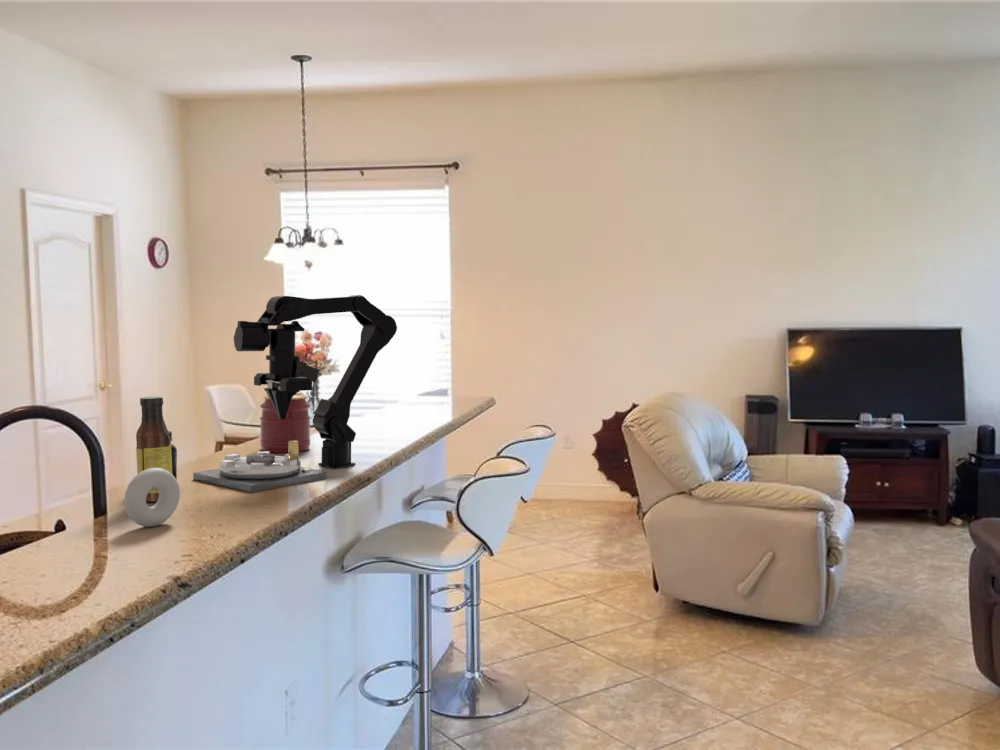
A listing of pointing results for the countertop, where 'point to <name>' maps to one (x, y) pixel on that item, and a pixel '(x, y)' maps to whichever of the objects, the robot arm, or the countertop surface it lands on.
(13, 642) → the countertop surface
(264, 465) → the lugged silver disc
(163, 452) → the sauce bottle
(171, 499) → the donut
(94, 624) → the countertop surface
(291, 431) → the canister
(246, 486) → the flat gray square plate
